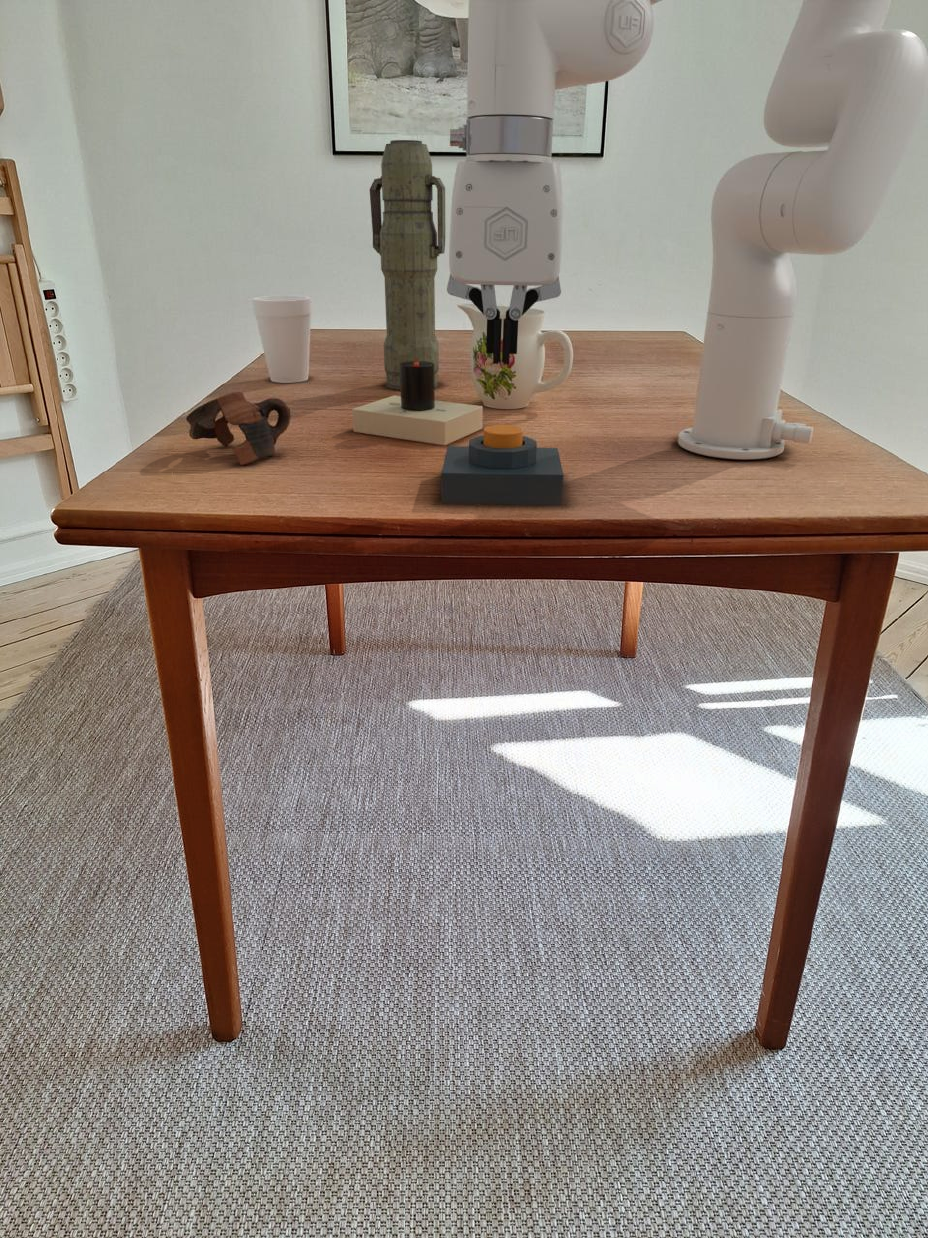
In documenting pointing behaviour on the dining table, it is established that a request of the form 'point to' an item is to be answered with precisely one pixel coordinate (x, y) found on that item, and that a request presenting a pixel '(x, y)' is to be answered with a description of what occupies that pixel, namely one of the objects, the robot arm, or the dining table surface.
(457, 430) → the dial panel
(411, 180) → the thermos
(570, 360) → the pitcher
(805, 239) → the robot arm
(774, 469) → the dining table surface
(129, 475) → the dining table surface
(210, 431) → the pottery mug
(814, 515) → the dining table surface
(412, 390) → the dial
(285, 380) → the foam cup
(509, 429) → the release button
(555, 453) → the button base
